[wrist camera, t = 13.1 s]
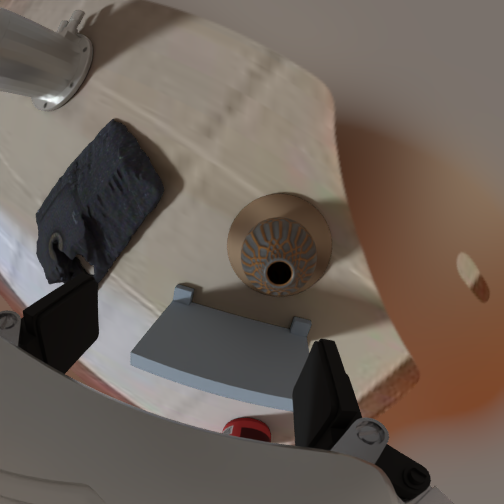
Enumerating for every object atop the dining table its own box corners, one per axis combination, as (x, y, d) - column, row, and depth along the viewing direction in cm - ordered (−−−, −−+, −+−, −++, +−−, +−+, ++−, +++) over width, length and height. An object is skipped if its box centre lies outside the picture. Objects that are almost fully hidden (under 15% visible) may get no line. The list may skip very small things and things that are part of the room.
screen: (178, 283, 31) (131, 335, 20) (310, 320, 31) (325, 388, 20) (172, 319, 33) (130, 378, 21) (296, 354, 32) (302, 425, 21)
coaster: (242, 181, 28) (241, 181, 27) (343, 211, 28) (345, 211, 27) (218, 279, 31) (217, 281, 30) (312, 304, 31) (312, 306, 30)
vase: (319, 223, 28) (338, 241, 19) (300, 285, 30) (308, 324, 21) (254, 205, 28) (245, 215, 19) (238, 268, 30) (223, 302, 21)
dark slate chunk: (189, 204, 29) (174, 208, 25) (84, 302, 34) (65, 315, 30) (119, 109, 27) (98, 101, 23) (33, 221, 32) (12, 227, 27)
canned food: (225, 442, 38) (214, 493, 28) (220, 414, 36) (206, 470, 26) (271, 445, 38) (267, 497, 27) (271, 416, 36) (268, 475, 25)
